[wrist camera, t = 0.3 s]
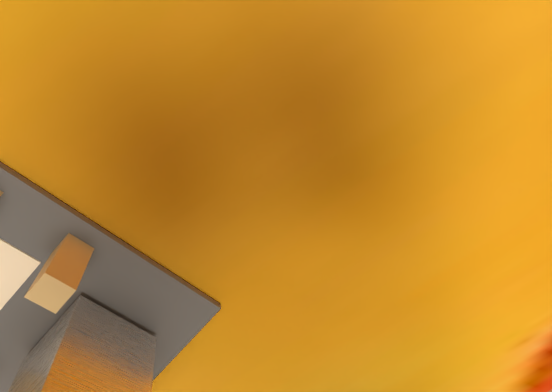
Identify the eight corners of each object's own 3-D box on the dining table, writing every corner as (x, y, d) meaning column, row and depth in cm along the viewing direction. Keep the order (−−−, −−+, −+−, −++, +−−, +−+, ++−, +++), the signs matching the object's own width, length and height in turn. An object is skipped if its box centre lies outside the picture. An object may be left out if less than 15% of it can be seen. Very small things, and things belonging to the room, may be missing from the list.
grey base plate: (220, 303, 25) (227, 354, 21) (98, 432, 27) (83, 503, 22) (-71, 116, 18) (-144, 137, 14) (-212, 301, 20) (-314, 368, 16)
